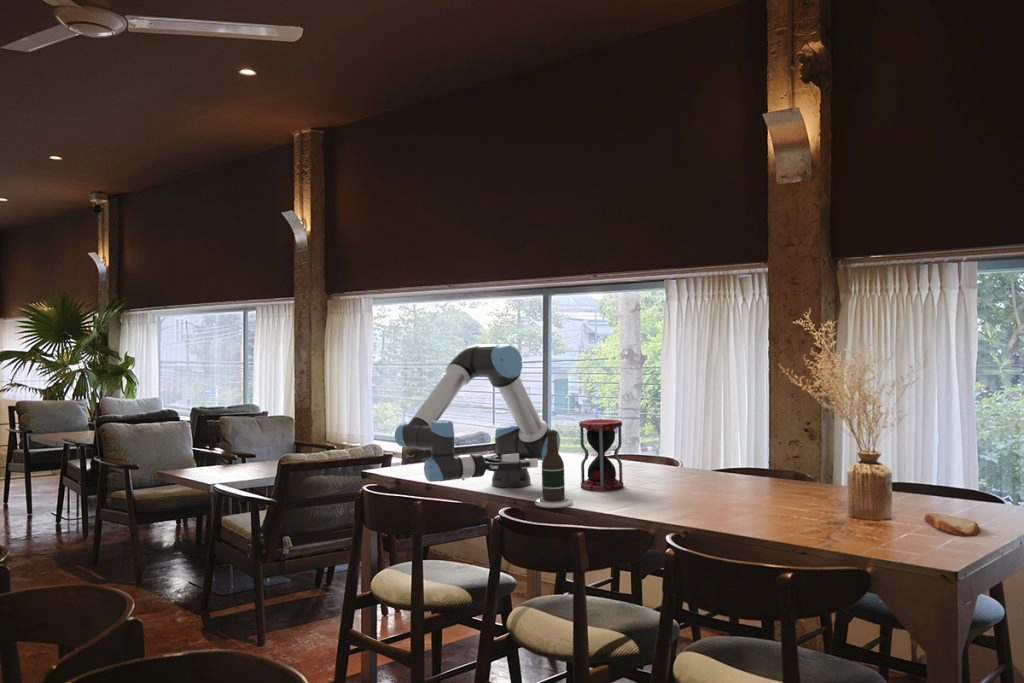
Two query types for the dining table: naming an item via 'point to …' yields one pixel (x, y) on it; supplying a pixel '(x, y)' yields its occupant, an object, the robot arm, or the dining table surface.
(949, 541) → the dining table surface
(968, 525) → the bread slice
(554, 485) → the beer bottle
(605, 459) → the hourglass
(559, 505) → the plate
